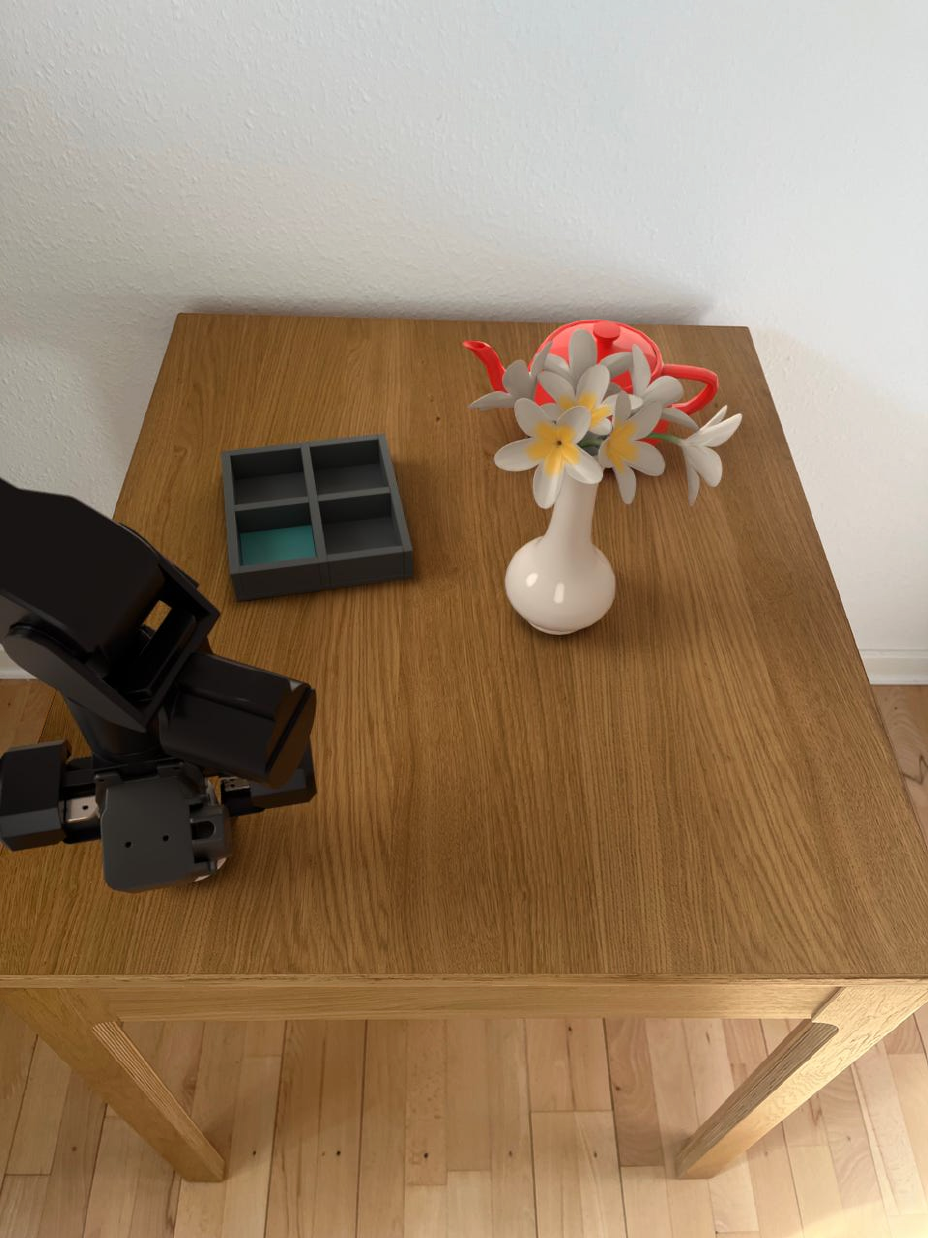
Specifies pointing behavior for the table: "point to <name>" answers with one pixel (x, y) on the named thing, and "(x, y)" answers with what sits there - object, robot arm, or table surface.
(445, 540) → the table surface
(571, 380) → the flower vase
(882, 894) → the table surface
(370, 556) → the compartment tray
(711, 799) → the table surface
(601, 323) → the teapot
